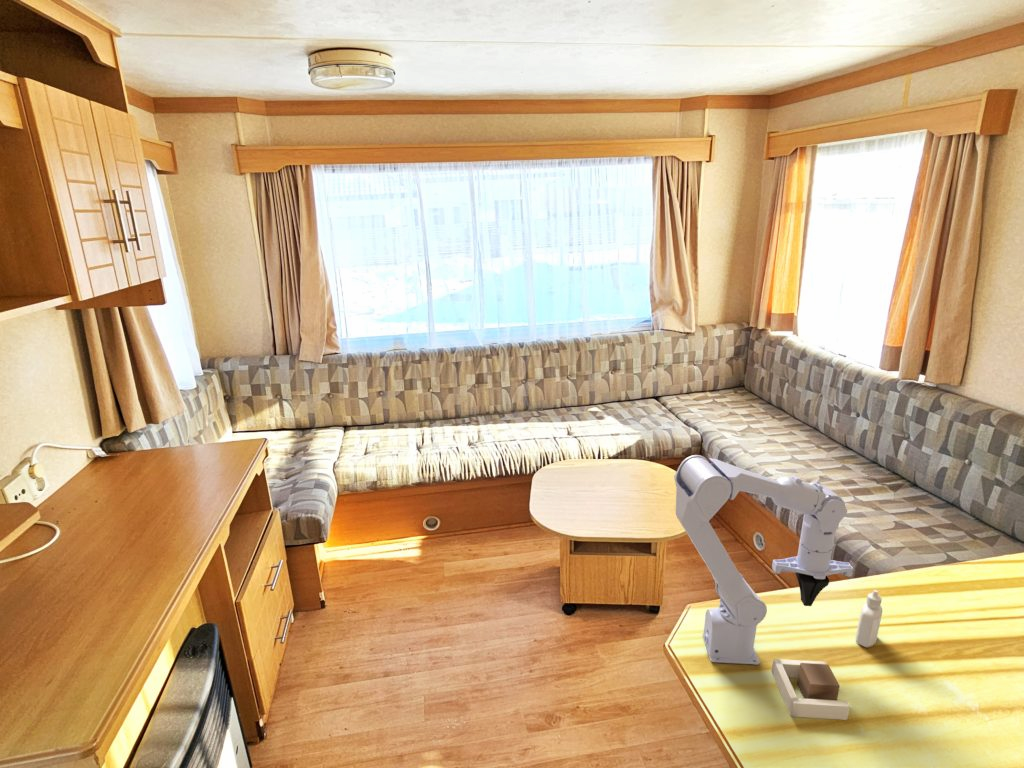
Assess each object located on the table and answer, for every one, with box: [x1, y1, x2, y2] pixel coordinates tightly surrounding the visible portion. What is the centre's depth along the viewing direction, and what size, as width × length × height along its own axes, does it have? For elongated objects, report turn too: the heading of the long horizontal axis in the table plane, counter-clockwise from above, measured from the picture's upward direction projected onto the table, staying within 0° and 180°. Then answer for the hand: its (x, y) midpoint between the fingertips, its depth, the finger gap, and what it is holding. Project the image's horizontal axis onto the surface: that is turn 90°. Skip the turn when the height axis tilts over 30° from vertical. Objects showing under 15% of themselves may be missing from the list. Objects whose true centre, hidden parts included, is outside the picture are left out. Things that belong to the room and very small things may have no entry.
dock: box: [771, 658, 851, 721], centre depth 109 cm, size 10×10×3 cm
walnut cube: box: [796, 663, 840, 700], centre depth 108 cm, size 5×5×5 cm
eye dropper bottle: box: [855, 589, 883, 648], centre depth 120 cm, size 4×6×12 cm
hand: (806, 602), depth 119 cm, fingers closed
